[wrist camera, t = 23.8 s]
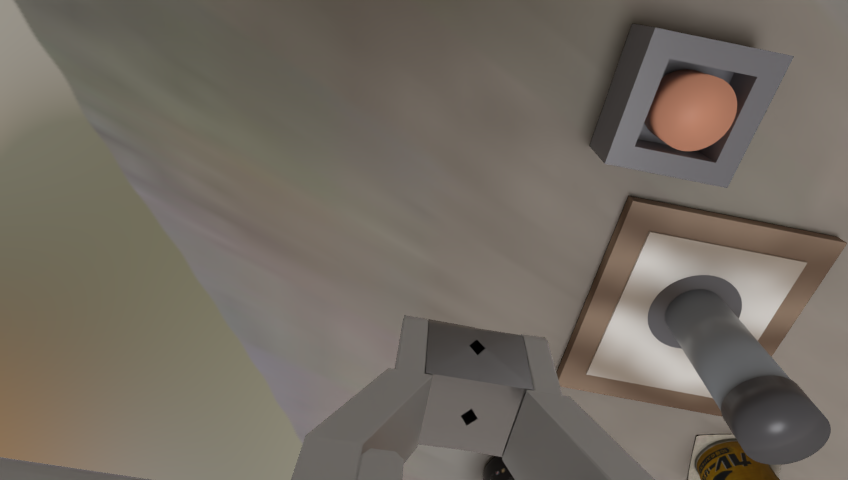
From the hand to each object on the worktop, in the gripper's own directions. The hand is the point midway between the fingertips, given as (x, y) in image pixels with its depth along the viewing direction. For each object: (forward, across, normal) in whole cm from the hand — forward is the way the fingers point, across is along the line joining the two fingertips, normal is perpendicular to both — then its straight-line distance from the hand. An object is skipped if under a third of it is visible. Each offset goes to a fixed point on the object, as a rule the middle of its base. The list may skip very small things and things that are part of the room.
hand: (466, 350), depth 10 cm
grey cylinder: (+24, -22, +13) cm, 35 cm away
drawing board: (+25, -22, +14) cm, 36 cm away
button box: (+26, -14, -2) cm, 29 cm away
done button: (+24, -14, -2) cm, 28 cm away
